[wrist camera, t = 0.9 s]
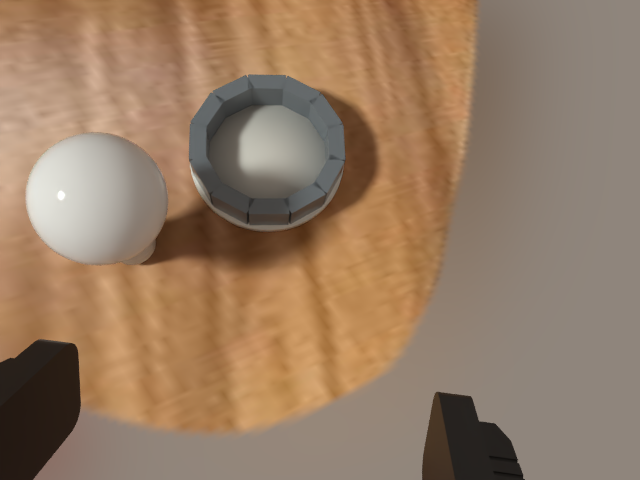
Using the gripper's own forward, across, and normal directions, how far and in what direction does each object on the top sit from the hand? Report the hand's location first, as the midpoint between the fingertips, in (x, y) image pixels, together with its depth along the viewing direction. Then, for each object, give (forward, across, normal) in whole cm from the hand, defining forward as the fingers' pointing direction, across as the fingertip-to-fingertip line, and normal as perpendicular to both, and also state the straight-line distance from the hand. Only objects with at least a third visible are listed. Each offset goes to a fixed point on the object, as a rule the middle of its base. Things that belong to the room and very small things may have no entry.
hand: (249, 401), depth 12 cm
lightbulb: (+21, +11, +5) cm, 24 cm away
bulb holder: (+26, +4, 0) cm, 26 cm away
